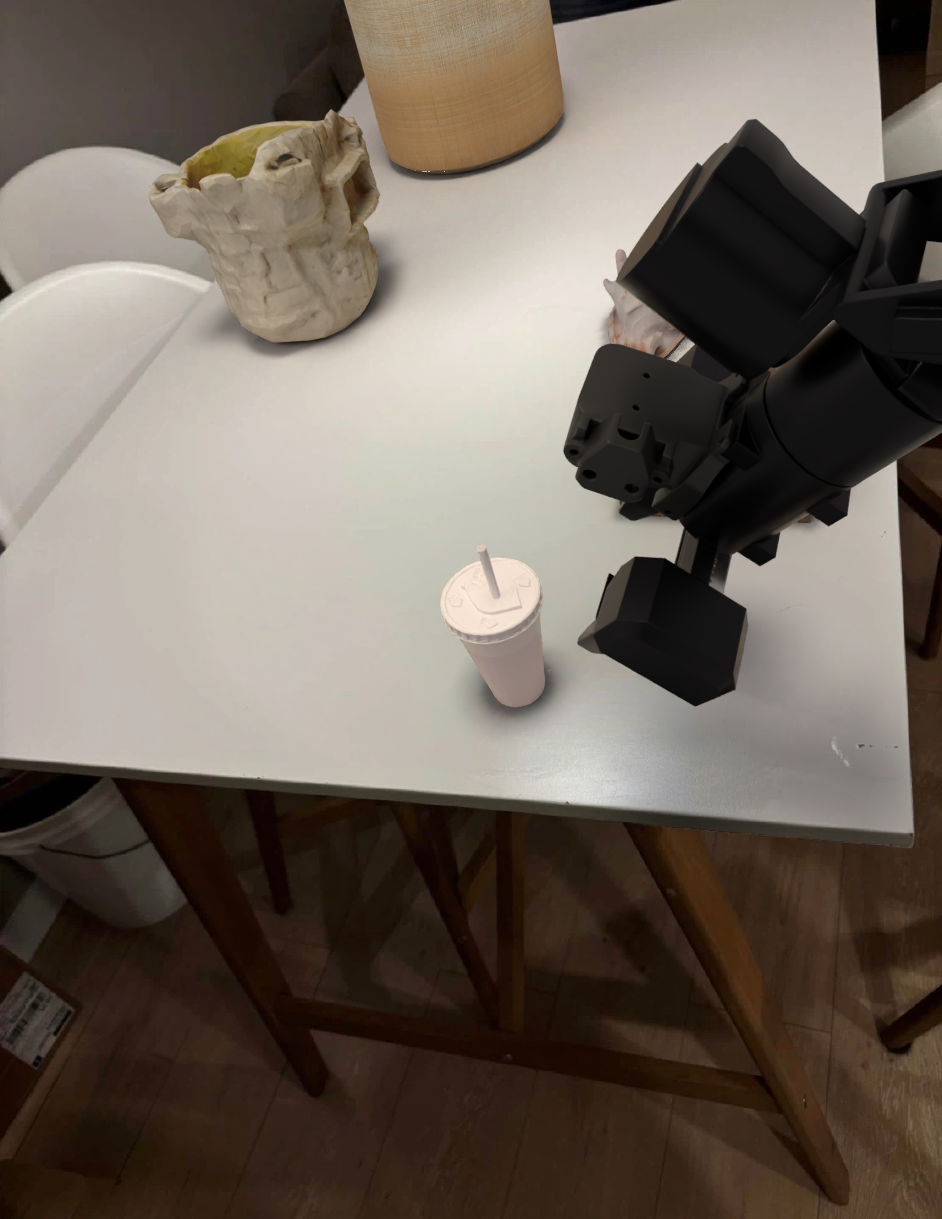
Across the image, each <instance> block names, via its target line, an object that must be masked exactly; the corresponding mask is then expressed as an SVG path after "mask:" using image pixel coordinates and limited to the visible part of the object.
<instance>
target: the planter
mask: <svg viewBox="0 0 942 1219" xmlns="http://www.w3.org/2000/svg"><path fill="white" fill-rule="evenodd" d="M343 3H344V6H345V9H346V12H347V17H348V20H349V23H350V26H351V31H352V35H353V38H354V41H355V46H356V48H357V52H358V56H359V59H360V64H361V67H362V70H363V74H364V78H365V81H366V84H367V89H368V92H369V97H370V100H371V104H372V107H373V112H374V115H375V119H376V122H377V126H378V129H379V133H380V137H381V141H382V144H383V147H384V149H385V151H386V154H387V156H388V158H389V159H390V160H391V161H392V162H393V163H395V164H396V165H397V166H399V167H402V168H403V169H407V170H410V171H413V172H416V173H421V174H428V175H429V174H430V175H447V174H456V173H457V174H458V173H464V172H470V171H474V170H478V169H482V168H486V167H488V166H493V165H495V164H498V163H501V162H504V161H507V160H509V159H511V158H513V157H515V156H517V155H519V154H522V153H523V152H525V151H527V150H529V149H530V148H532V147H533V146H534V145H536V144H537V143H539V142H540V141H541V140H543V139H544V138H545V137H546V136H547V135H548V134H549V133H550V131H551V130H552V129H553V128H554V127H555V126H556V124H557V123H558V122H559V121H560V119H561V117H562V116H563V112H564V107H565V101H564V100H565V98H564V97H565V96H564V89H563V88H564V87H563V81H562V74H561V69H560V62H559V56H558V48H557V43H556V37H555V36H556V35H555V30H554V23H553V17H552V10H551V4H550V0H343ZM415 170H416V171H415ZM422 171H427V172H422ZM428 171H430V172H428ZM444 171H445V172H444Z"/></svg>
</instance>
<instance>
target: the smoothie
mask: <svg viewBox="0 0 942 1219" xmlns="http://www.w3.org/2000/svg"><path fill="white" fill-rule="evenodd" d="M476 551H477V554H478V557H479V560H477V561H474V562H471V563H469V564H468V565H466V566H464V567H463V568H461V569H460V570H458V571H457V572H456V573H455V574H454V575H453V576H452V577H451V578H450V579H449V580H448V581H447V583H446V584H445V586H444V588H443V590H442V593H441V596H440V604H439V605H440V611H441V614H442V618H443V621H444V624H445V626H446V628H447V629H448V630H449V631H450V633H451V634H452V635H453V636H455V637H456V638H458V639H459V641H460V642H461V643H462V645H463V647H464V648H465V650H466V652H467V654H468V656H469V657H470V658H471V660H472V661H473V663H474V665H475V666H476V668H477V670H478V671H479V674H480V675H481V676H482V678H483V679H484V681H485V683H486V685H487V686H488V688H489V689H490V691H491V693H492V694H493V696H494V698H495V699H496V700H497V701H498V703H500V704H502V705H503V706H505V707H509V708H521V707H526V706H529V705H531V704H533V703H534V702H536V701H537V700H538V699H539V698H540V697H541V696H542V694H543V692H544V690H545V687H546V674H545V664H544V663H545V662H544V651H543V636H542V635H543V634H542V623H541V621H542V618H541V612H542V609H543V605H544V589H543V588H542V585H541V583H540V579H539V577H538V575H537V573H536V572H535V571H534V570H533V569H532V568H531V567H530V566H529V565H527V563H524V562H523V561H520V560H517V559H514V558H511V557H510V558H509V557H490V555H489V552H488V548H487V546H486V545H485V544H479V545H478V546H477V547H476Z"/></svg>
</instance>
